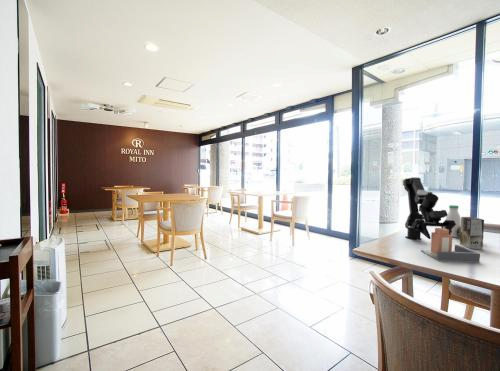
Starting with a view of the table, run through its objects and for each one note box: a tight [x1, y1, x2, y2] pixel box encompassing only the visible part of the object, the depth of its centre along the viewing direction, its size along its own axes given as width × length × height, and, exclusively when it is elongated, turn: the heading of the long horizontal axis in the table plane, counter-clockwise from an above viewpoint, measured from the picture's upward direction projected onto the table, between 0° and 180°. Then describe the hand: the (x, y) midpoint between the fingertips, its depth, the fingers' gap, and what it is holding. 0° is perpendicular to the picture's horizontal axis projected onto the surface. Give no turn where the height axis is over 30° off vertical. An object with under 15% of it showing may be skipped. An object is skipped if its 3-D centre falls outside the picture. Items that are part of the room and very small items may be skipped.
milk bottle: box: [445, 204, 461, 238], centre depth 165 cm, size 8×8×20 cm
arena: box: [421, 244, 481, 264], centre depth 125 cm, size 14×18×4 cm
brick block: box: [430, 227, 453, 255], centre depth 126 cm, size 6×6×12 cm
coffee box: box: [459, 216, 485, 250], centre depth 142 cm, size 9×6×16 cm
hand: (439, 239), depth 127 cm, fingers open, 9 cm apart
